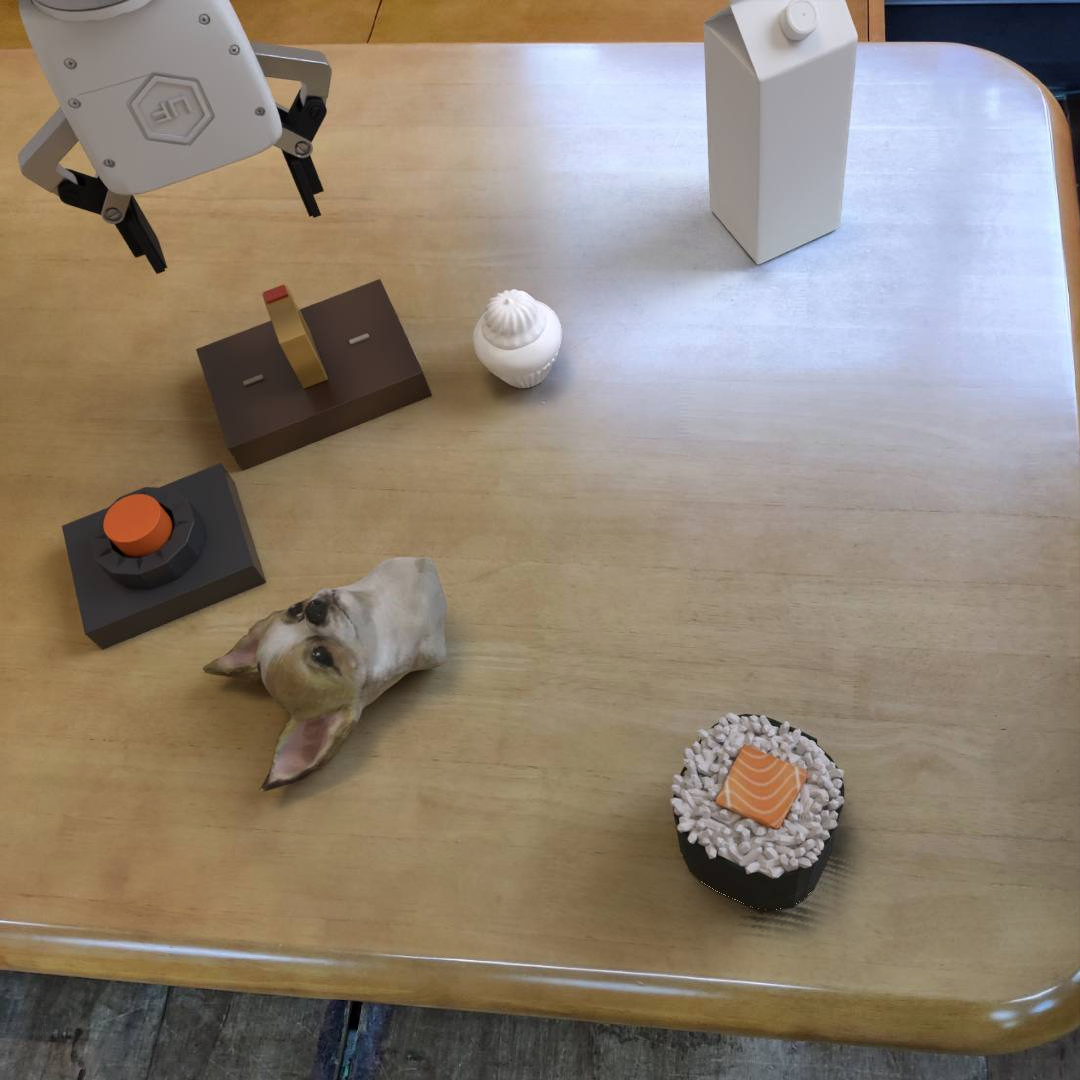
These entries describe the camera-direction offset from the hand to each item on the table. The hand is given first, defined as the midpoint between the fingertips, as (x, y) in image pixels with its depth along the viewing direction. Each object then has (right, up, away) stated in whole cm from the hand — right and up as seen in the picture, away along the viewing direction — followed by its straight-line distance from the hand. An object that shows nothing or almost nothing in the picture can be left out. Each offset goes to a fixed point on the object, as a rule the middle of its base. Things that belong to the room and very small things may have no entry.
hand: (234, 230), depth 67 cm
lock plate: (+2, -7, +12) cm, 14 cm away
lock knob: (+1, -5, +10) cm, 11 cm away
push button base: (-6, -20, +6) cm, 22 cm away
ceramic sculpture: (+7, -27, +1) cm, 28 cm away
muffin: (+17, -6, +11) cm, 21 cm away
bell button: (-7, -18, +3) cm, 20 cm away
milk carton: (+35, +6, +16) cm, 39 cm away
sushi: (+31, -35, -6) cm, 47 cm away
